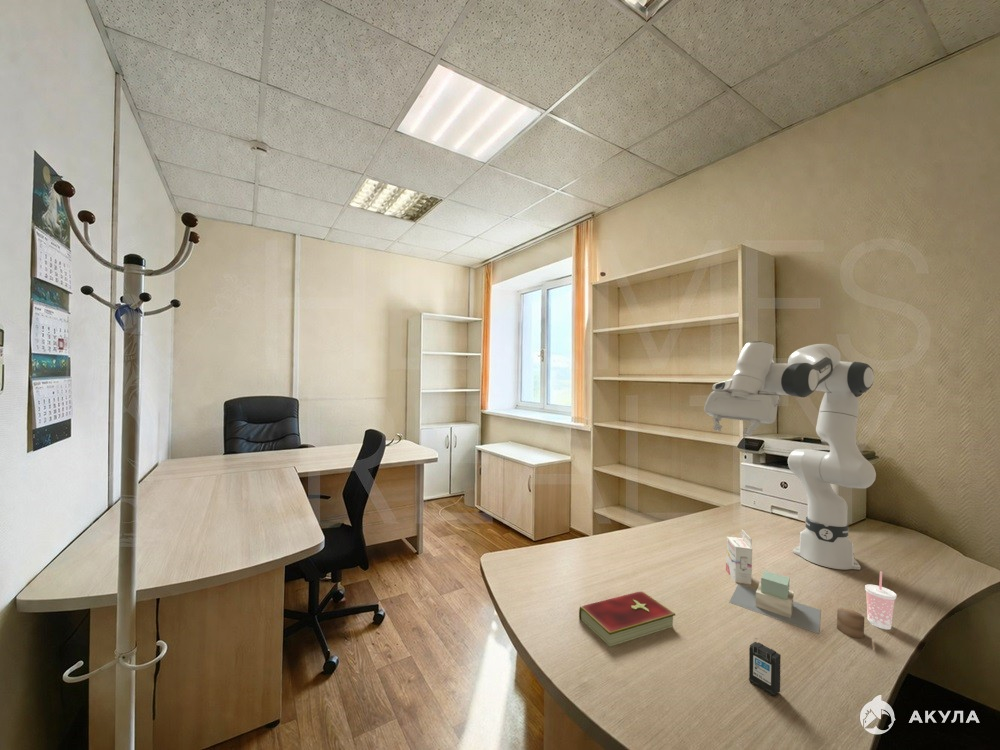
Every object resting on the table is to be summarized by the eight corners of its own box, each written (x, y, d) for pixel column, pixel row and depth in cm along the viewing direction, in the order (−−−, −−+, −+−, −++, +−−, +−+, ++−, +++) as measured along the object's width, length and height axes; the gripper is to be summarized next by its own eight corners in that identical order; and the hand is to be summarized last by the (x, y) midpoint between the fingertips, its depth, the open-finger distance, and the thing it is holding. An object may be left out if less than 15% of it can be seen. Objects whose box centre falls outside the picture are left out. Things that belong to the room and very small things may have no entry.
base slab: (759, 594, 118) (760, 581, 118) (793, 605, 113) (793, 591, 113) (755, 606, 112) (755, 592, 112) (790, 618, 107) (791, 603, 107)
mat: (738, 585, 124) (738, 583, 124) (820, 611, 111) (820, 610, 111) (728, 603, 114) (728, 602, 114) (818, 635, 101) (818, 633, 101)
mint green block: (763, 583, 117) (764, 570, 117) (789, 591, 113) (789, 577, 113) (760, 592, 112) (761, 577, 112) (787, 600, 108) (787, 585, 108)
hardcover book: (578, 620, 104) (579, 604, 104) (640, 604, 113) (640, 589, 113) (609, 650, 93) (609, 632, 93) (674, 629, 102) (675, 612, 102)
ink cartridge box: (724, 571, 133) (726, 526, 133) (741, 573, 132) (742, 528, 132) (734, 584, 125) (736, 537, 125) (751, 586, 124) (753, 538, 124)
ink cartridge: (748, 681, 84) (749, 643, 84) (754, 677, 86) (754, 640, 86) (774, 697, 80) (775, 657, 80) (780, 693, 81) (780, 653, 82)
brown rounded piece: (836, 624, 106) (837, 605, 106) (863, 633, 102) (864, 613, 102) (836, 633, 102) (837, 614, 102) (864, 643, 98) (865, 622, 98)
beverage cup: (898, 634, 102) (900, 579, 102) (866, 625, 106) (868, 572, 106) (891, 622, 108) (893, 570, 107) (861, 614, 111) (863, 563, 111)
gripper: (787, 396, 113) (773, 442, 110) (720, 392, 131) (707, 431, 129) (775, 387, 110) (761, 434, 108) (708, 384, 129) (694, 423, 126)
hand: (731, 432), depth 118 cm, fingers open, 8 cm apart
